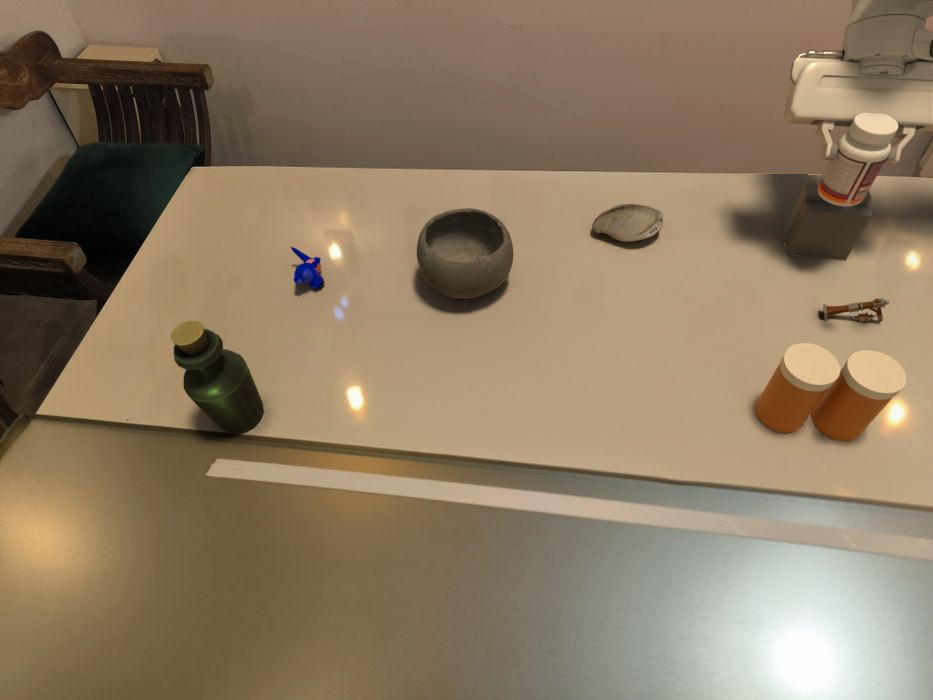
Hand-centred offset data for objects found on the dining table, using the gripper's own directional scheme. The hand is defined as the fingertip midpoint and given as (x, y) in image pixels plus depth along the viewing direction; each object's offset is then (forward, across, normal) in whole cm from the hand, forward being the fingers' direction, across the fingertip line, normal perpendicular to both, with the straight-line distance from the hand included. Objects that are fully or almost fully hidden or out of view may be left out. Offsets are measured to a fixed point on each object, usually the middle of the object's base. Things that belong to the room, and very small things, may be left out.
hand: (859, 161), depth 81 cm
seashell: (+11, -28, +16) cm, 34 cm away
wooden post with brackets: (+21, +5, +6) cm, 23 cm away
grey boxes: (+10, +2, +17) cm, 20 cm away
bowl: (+22, -53, +6) cm, 57 cm away
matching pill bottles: (+34, -3, -7) cm, 35 cm away
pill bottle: (+4, 0, +5) cm, 6 cm away
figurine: (+24, -79, +3) cm, 82 cm away
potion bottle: (+43, -79, -16) cm, 91 cm away
